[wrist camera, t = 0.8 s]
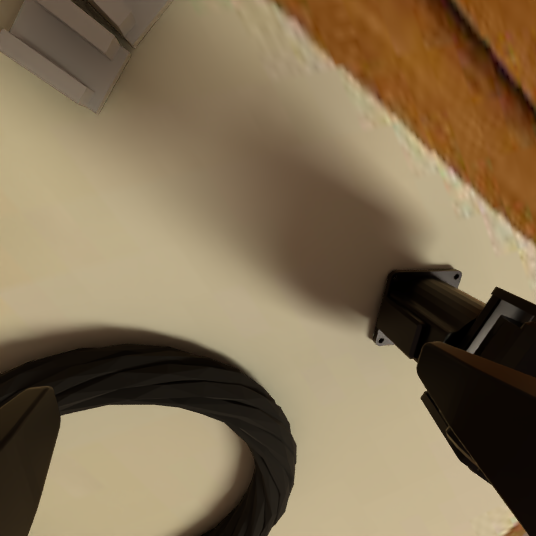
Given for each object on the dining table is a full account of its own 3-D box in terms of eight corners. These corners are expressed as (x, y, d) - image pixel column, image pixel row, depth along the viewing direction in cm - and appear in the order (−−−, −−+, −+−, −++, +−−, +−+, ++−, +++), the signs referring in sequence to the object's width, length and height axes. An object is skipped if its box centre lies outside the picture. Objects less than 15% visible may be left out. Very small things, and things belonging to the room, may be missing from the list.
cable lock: (301, 570, 30) (-69, 702, 24) (289, 526, 33) (-37, 630, 27) (307, 332, 19) (-372, 453, 13) (288, 303, 23) (-255, 387, 16)
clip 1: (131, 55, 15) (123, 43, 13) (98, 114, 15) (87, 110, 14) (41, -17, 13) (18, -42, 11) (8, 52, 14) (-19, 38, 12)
